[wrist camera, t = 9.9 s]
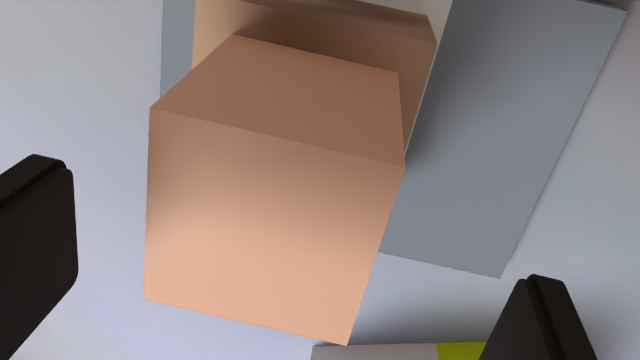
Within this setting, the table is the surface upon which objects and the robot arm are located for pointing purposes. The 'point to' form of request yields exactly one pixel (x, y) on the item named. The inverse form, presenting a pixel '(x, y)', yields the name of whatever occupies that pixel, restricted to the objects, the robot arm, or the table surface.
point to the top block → (272, 187)
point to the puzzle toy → (401, 351)
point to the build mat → (473, 118)
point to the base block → (329, 36)
